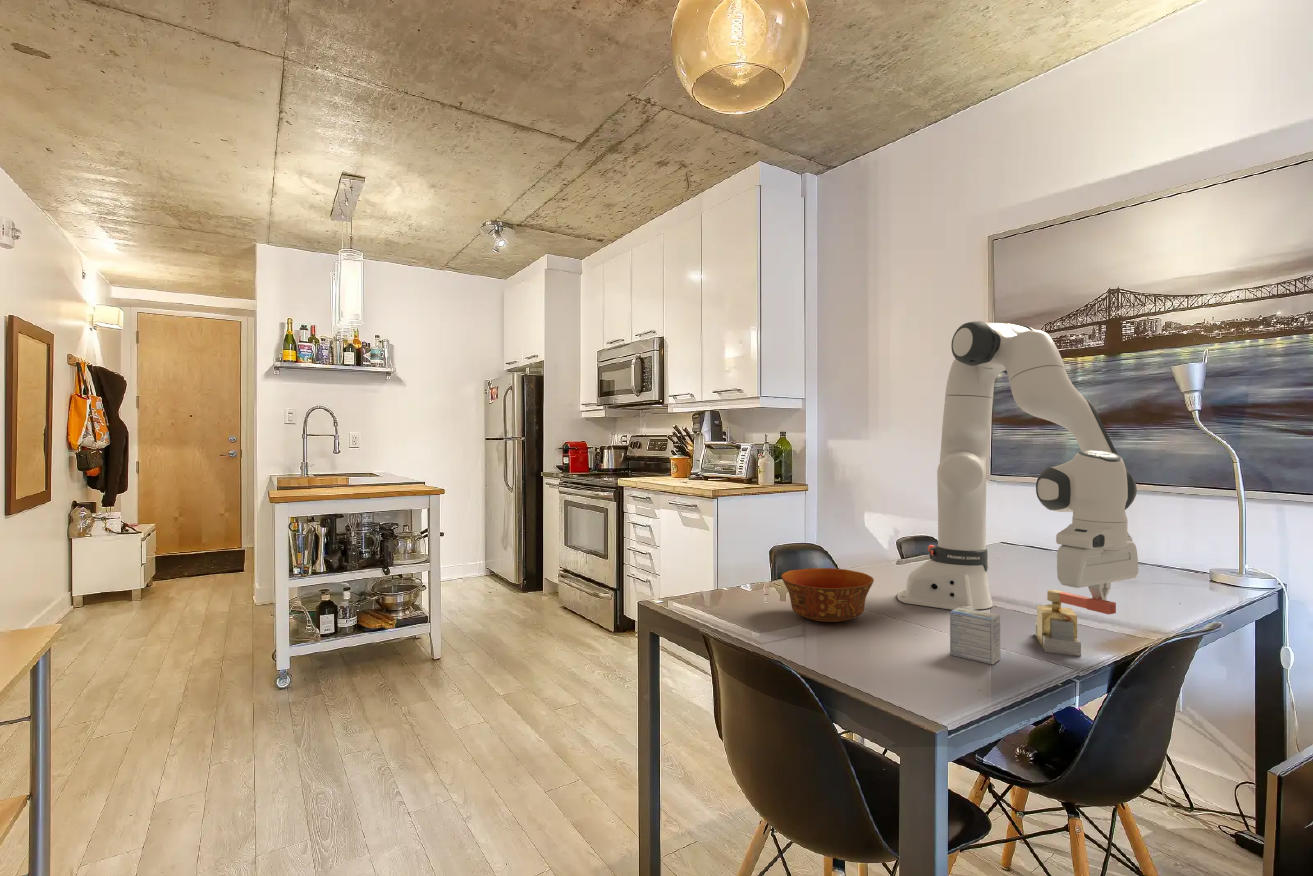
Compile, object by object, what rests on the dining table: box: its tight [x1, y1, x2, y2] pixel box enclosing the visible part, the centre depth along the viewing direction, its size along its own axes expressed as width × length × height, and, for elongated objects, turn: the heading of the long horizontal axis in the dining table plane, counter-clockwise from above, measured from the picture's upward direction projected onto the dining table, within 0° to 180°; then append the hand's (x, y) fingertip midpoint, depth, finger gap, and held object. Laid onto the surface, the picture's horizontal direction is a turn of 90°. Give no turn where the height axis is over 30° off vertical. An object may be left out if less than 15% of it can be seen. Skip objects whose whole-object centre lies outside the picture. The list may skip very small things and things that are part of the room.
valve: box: [1034, 601, 1082, 657], centre depth 129 cm, size 12×6×9 cm, turn 157°
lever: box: [1046, 589, 1117, 615], centre depth 125 cm, size 12×3×2 cm, turn 23°
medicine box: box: [949, 608, 1002, 665], centre depth 122 cm, size 8×4×9 cm, turn 44°
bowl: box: [780, 567, 875, 623], centre depth 148 cm, size 21×21×10 cm
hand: (1099, 605), depth 123 cm, fingers closed, pressing on lever
